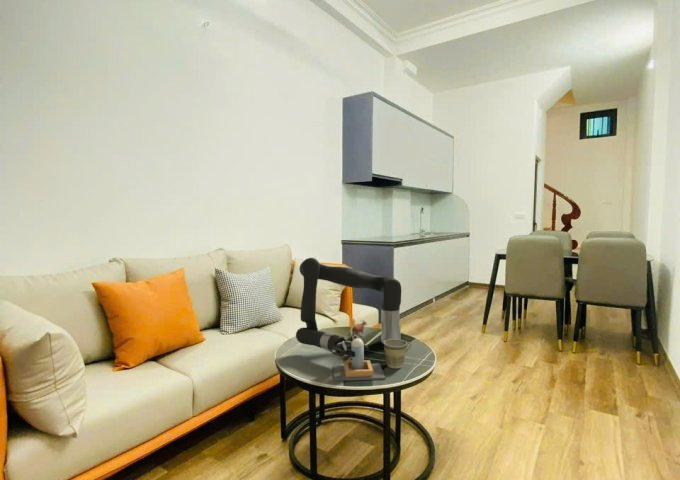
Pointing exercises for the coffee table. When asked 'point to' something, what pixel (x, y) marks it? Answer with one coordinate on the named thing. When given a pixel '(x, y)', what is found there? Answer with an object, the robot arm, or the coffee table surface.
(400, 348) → the ceramic cup
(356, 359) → the pale grey cylinder
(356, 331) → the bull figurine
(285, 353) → the coffee table surface
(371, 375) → the jig
